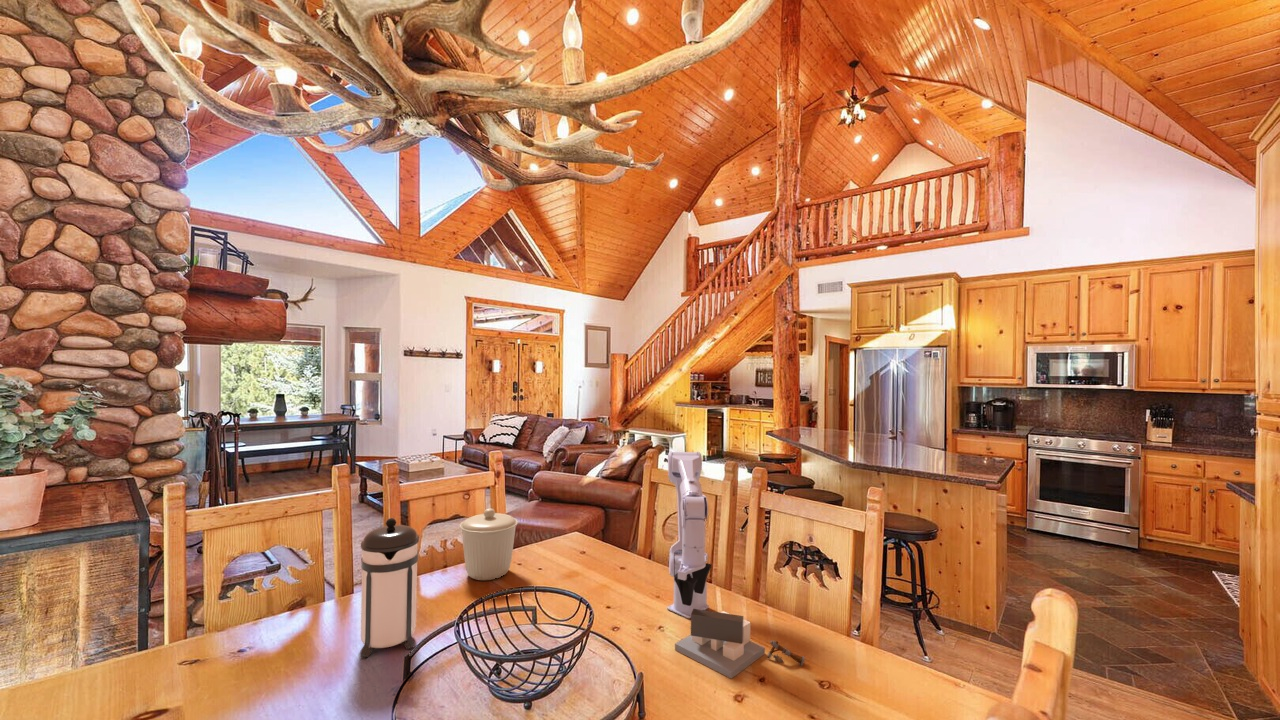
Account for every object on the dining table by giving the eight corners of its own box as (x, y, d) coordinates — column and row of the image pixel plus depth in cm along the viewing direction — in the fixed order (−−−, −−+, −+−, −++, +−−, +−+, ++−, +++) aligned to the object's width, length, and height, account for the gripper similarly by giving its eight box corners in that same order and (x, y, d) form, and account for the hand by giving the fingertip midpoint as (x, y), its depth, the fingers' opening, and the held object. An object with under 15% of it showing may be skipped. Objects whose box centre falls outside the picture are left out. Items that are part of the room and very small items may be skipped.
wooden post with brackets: (763, 652, 121) (772, 636, 121) (796, 672, 119) (804, 655, 119) (763, 657, 119) (771, 640, 119) (796, 676, 117) (804, 659, 117)
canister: (465, 564, 174) (466, 501, 174) (520, 562, 176) (521, 500, 176) (452, 587, 156) (453, 517, 156) (513, 585, 158) (514, 516, 158)
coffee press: (438, 633, 129) (441, 513, 130) (383, 666, 115) (385, 531, 115) (390, 618, 137) (392, 504, 137) (332, 647, 122) (334, 520, 122)
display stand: (709, 629, 133) (710, 605, 133) (764, 653, 122) (765, 628, 122) (674, 649, 123) (675, 624, 123) (731, 678, 112) (731, 651, 112)
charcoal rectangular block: (693, 629, 125) (693, 608, 125) (743, 637, 122) (743, 616, 122) (690, 635, 122) (691, 614, 122) (742, 643, 119) (742, 622, 119)
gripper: (690, 533, 138) (689, 584, 138) (666, 550, 126) (665, 606, 125) (715, 538, 135) (714, 590, 135) (693, 555, 122) (692, 613, 122)
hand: (692, 598), depth 130 cm, fingers open, 7 cm apart
